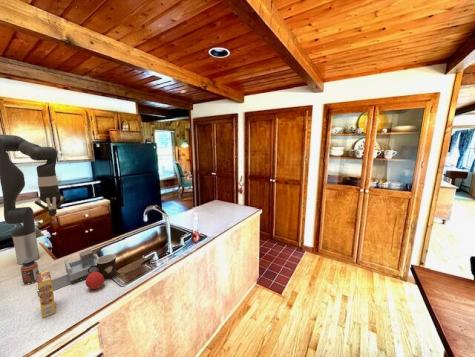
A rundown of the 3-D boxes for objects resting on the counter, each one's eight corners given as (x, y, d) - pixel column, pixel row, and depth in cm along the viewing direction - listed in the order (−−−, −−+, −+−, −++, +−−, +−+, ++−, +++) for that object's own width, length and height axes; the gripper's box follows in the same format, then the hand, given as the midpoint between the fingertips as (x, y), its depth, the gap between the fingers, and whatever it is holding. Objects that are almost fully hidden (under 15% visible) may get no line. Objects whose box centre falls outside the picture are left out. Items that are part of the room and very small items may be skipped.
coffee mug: (119, 269, 109) (117, 252, 107) (115, 279, 101) (113, 261, 99) (94, 274, 105) (92, 257, 103) (88, 284, 97) (86, 266, 95)
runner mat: (36, 286, 96) (36, 285, 96) (99, 263, 115) (99, 262, 115) (38, 297, 89) (38, 296, 89) (104, 270, 108) (104, 270, 108)
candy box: (56, 312, 80) (51, 278, 78) (42, 318, 77) (35, 284, 75) (54, 301, 87) (49, 269, 84) (41, 306, 83) (35, 274, 81)
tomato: (84, 277, 89) (100, 265, 96) (79, 282, 93) (95, 270, 100) (96, 290, 90) (111, 277, 96) (90, 294, 93) (105, 282, 100)
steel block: (81, 266, 107) (79, 253, 106) (92, 262, 110) (90, 249, 109) (83, 270, 103) (81, 256, 102) (94, 266, 107) (92, 252, 106)
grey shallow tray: (66, 272, 106) (64, 259, 104) (97, 261, 116) (95, 249, 115) (71, 284, 96) (68, 270, 95) (104, 271, 107) (102, 258, 106)
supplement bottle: (19, 286, 96) (15, 264, 95) (28, 278, 102) (25, 258, 100) (34, 283, 98) (31, 262, 96) (42, 276, 104) (39, 256, 102)
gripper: (30, 187, 96) (36, 220, 99) (65, 183, 106) (70, 214, 109) (30, 185, 101) (35, 217, 104) (63, 182, 111) (67, 211, 114)
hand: (53, 215), depth 106 cm, fingers closed
